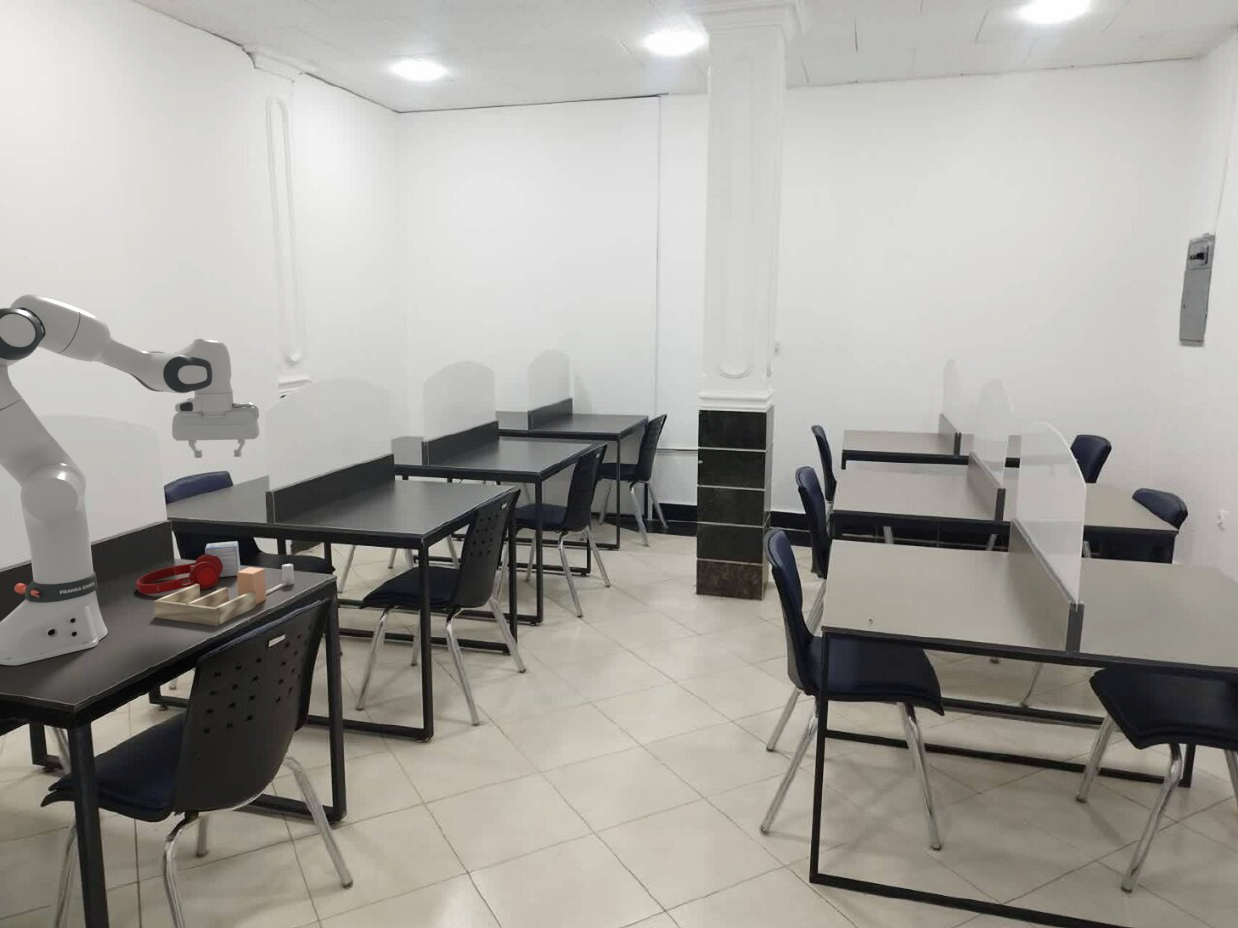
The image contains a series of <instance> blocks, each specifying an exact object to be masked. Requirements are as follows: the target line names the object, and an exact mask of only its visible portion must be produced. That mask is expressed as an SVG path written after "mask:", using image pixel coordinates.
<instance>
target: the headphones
mask: <svg viewBox="0 0 1238 928" xmlns="http://www.w3.org/2000/svg"><path fill="white" fill-rule="evenodd" d="M222 569H223V565H222V562H221V560H220V559H219V558H218V557H216V556H212V555H208V554H203V555H201V556H199V557H197V559H196V560H195V562H191V563H183V564H179V565H175V566H174V565H173V566H169V567H165V568H161V569H157V570H155V571H152V572H149V573H147V574H144V575H142V576H140V577H139V578H138V579H137V580H136V582H135V584H136V587H137V588H136V589H137V591H138V592H139V594H142V595H153V594H154V595H156V594H161V593H162V594H163V593H167V592H171V591H178V590H179V589H180V590H181V589H185V588H187V587H190V586H192V585H195V584H199V585H200V590H207V589H208V590H209V589H210V588H212V587H213V586H215V585H216V584H217V583H218V581H219V578H220V577H219V575H220V574H221V572H222ZM185 574H186V575H187V574H188V576H186V577H182V578H177V579H173V580H168V581H163V582H158V583H154V582H157V581H160V580H163V579H166V578H171V577H175V576H179V575H185ZM186 580H187V581H186ZM188 580H189V581H188ZM183 581H186V582H183Z"/></svg>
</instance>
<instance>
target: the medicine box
mask: <svg viewBox="0 0 1238 928" xmlns="http://www.w3.org/2000/svg"><path fill="white" fill-rule="evenodd" d="M239 551H240V550H239V542H238V541H237V540H235V541H225V542H224V541H222V542H213V543H211V542H210V543H206V546H205V548H204V555H206V554H208V555H212V556H216V557H218V558H219V559H220V560H221V562H222V565H223V569H222V572H221V574H220V575H219V578H224V577H233V576H234V577H235V576H236V577H237V572H239V571H241V570H242V569H241V561H240V552H239Z"/></svg>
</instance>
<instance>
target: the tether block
mask: <svg viewBox="0 0 1238 928" xmlns="http://www.w3.org/2000/svg"><path fill="white" fill-rule="evenodd" d="M281 572H282V573H281V576H282V583H280V584H278V585H276V586H274V587H273V588H271V589H268V590H267V587H266V577H265V576H266V571H265V568H263V567H261V568H260V567H252V566H248V567H246V568H244V569H241V570H240V571H239V572H237V575H236V579H237V593H238V597H239V596H241V595H244V594H246V593H248V592H250V591H255V593H256V605H257V604H260V603H262V602H264V601H266V600H267V595H268V594H270V593H271V594H272V592H275V591H276V590H279V589H281V588H282V587H285V586H292V585H294V584H295V577H294V564H292V563H287V564H286V563H285V564H282V565H281Z"/></svg>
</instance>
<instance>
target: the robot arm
mask: <svg viewBox="0 0 1238 928" xmlns="http://www.w3.org/2000/svg"><path fill="white" fill-rule="evenodd" d="M37 348H43V349H44V350H47V351H49V352H52V353H54V354H58V355H59V356H63V357H66V358H71V359H74V360H78V361H82V362H90V363H91V362H98V363H101V364H104V365H107V366H109V367H111V368H114V369H117V370H119V371H122V372H125V373H127V374H129V375H130V376H132V377H134V379H135V380H137V381H138V382H139V384H141V385H142V386H143V387H144V388H146V389H147V390H150V391H153V392H158V393H159V392H161V393H163V392H165V393H175V394H186V393H190V392H191V393H192V392H194V393H193V394H194V396H193V397H190V398H188V399H186V400H182V401H180V402H177V403H176V404H175V405H174V409H175V412H176V413H175V414H174V416H173V418H172V425H171V431H172V432H171V433H172V439H174V440H175V441H179V442H180V441H181V442H183V441H184V442H185V441H186V442H187V441H188V446H189V447H190V449H191V450H192V451H193V452H194V453H193V456H194V459H199V458H203V454H202V453H203V450H202V449H198V447H197V446H196V444H198V443H197V441H225V440H226V441H231V440H233V441H234V440H237V445H239V446H238V447H237V449H235V448H234V449H233V453H234V454H233V456H234V458H241V457H242V449H243V447H244V445H246V440H255V439H257V438H258V437H259V436H260V427H259V422H258V419H259V417H260V413H259V408H258V407H257V406H256V405H255V404H253V403H251V402H247V403H240V402H239V403H238V402H237V403H235V402H234V395H233V394H234V393H233V392H234V391H233V388H232V384H231V378H232V367H231V366H232V364H231V357H230V353H229V349H228V347H227V346H226V344H225V343H223V342H220V341H219V340H212V339H204V338H197V339H194V340H193V342H192V343H191V344H188V345H187V346H186V347H184V348H183V349H181V350H179V351H176V352H174V353H171V352H164V351H155V350H153V351H152V350H151V351H150V350H149V351H143V350H141V349H138V348H135V347H133V346H131V345H128V344H126V343H124V342H121V341H119V340H117V339H114V338H113V337H112V336H111V331H110V328H109V326H108V325H107V323H106V322H105V321H103V320H102V319H100V318H98V317H97V316H95V315H93V314H91V313H90V312H88V311H85V310H83V309H81V308H80V307H79V308H78V307H76V306H74V305H70V304H68V303H66V302H63V301H60V300H56V299H53V298H49V297H45V296H41V295H37V294H24V295H21V296H20V297H18V298H16V299H15V300H14V301H13V302H12V303H11V305H10V307H4V308H3V307H1V308H0V465H1V467H2V468H3V469H4V470H5V471H6V472H8V474H9V475H10V476H11V477H12V478H13V479H14V480H15V481H16V482H17V483H18V484H19V486H20V488H21V490H20V502H21V507H22V508H21V509H22V513H23V514H22V515H23V520H24V525H25V531H26V534H27V538H28V539H27V540H28V545H29V552H30V561H31V568H32V569H31V570H32V577H33V579H32V580H31V582H30V583H29V584H28V585H27V584H24V583H21V582H20V583H19V582H18V583H17V584H15V586H14V592H16V593H18V594H20V595H24V596H25V599H24V600H23V601H22V602H21V603H20V604H18V606H16V607H15V608H14V609H13V610H12V611H11V612H10V613H9V614H8V615H6V617H4V619H2V620H1V621H0V665H5V666H19V665H24V664H28V663H29V664H30V663H33V662H37V661H40V660H45V659H50V658H53V657H57V656H61V655H65V654H69V653H73V652H77V651H82V650H86V649H90V648H94V647H96V646H97V645H98V644H99V641H100V640H102V639H103V638H105V637H106V635H107V634H108V632H109V630H108V628H107V627H106V624H105V622H104V619H103V616H102V613H101V610H100V605H99V602H98V582H97V573H96V572H95V571H94V567H93V555H92V548H91V547H92V546H91V536H90V532H89V531H90V530H89V525H88V517H87V510H86V502H85V501H86V499H85V495H86V487H87V485H86V484H87V481H86V477H85V474H84V473H83V472H82V470H81V469H80V467H79V466H78V465H77V464H76V463H75V461H74V460H73V459H72V457H70V455H69V454H68V453H67V452H66V450H65V449H64V448H63V447H62V446H61V445H60V443H59V442H58V441H57V440H56V439H55V438H54V437H53V436H52V435H51V434H50V432H49V431H48V430H47V429H46V427H45V426H44V424H43V423H42V422H41V420H40V419H39V418H38V416H37V415H36V414H35V413H34V411H33V410H32V409H31V407H30V406H29V404H28V403H27V402H26V400H25V398H23V396H22V395H21V394H20V393H19V392H18V390H17V389H16V387H15V386H14V385H13V383H12V381H11V379H10V376H9V372H8V371H9V369H8V367H10V366H12V365H14V364H17V363H18V362H19V361H21V360H23V359H26V358H27V357H29V356H31V355H32V353H34V352H35V350H36V349H37Z"/></svg>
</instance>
